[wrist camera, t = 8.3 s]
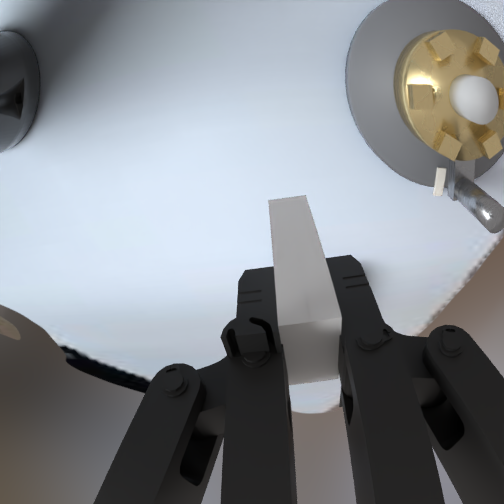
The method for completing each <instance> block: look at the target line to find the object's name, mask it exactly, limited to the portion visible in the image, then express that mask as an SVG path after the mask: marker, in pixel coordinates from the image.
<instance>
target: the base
mask: <svg viewBox="0 0 504 504" xmlns="http://www.w3.org/2000/svg"><path fill="white" fill-rule="evenodd" d="M450 29H454V30H462V31H467V32H469V33H472V34H474V35H476V36H478V37H485V38H486V39H487V40H489V41H490V42H491V43H492V44H493V45H494V46H496V47H497V48H498V49H499V50H500V51H499V54H498V56H499V58H500V59H501V61H502V63H503V65H504V43H503V42H502V40H501V38H500V37H499V35H498V34H497V32H496V31H495V30H494V28H493V27H492V26H491V25H490V24H489V23H488V22H487V21H486V20H485V18H484V17H482V16H481V15H480V14H479V13H478V12H476V11H475V10H474V9H473V8H471V7H469V6H468V5H466V4H465V3H463V2H461V1H459V0H388V1H386V2H384V3H382V4H381V5H379V6H378V7H377V8H375V9H374V10H373V11H371V12H370V13H369V15H368V16H367V17H366V18H365V19H364V20H363V21H362V23H361V24H360V26H359V27H358V29H357V31H356V32H355V35H354V37H353V39H352V41H351V44H350V48H349V51H348V55H347V62H346V69H345V83H346V92H347V98H348V102H349V106H350V110H351V113H352V116H353V118H354V121H355V124H356V126H357V128H358V129H359V131H360V133H361V135H362V137H363V138H364V140H365V141H366V143H367V144H368V146H369V147H370V148H371V149H372V150H373V152H374V153H375V154H376V155H377V156H378V157H379V158H380V159H381V160H382V161H383V162H384V163H385V164H386V165H388V166H389V167H390V168H391V169H392V170H394V171H395V172H396V173H398V174H399V175H401V176H402V177H404V178H406V179H408V180H410V181H412V182H415V183H418V184H420V185H425V186H429V187H434V191H433V195H434V196H442V193H443V188H444V187H448V179H449V158H447V157H445V156H443V155H441V154H439V153H438V152H436V151H435V150H433V149H432V148H430V147H429V146H427V145H426V144H424V143H423V142H421V141H420V140H419V139H417V138H416V137H415V136H414V135H413V134H412V133H411V132H410V130H409V129H408V128H407V126H406V125H405V123H404V122H403V120H402V118H401V116H400V114H399V111H398V109H397V105H396V102H395V97H394V88H393V79H394V71H395V66H396V63H397V60H398V58H399V56H400V54H401V52H402V50H403V49H404V48H405V46H406V45H407V44H408V43H409V42H410V41H411V40H412V39H414V38H415V37H417V36H418V35H420V34H422V33H426V32H429V31H437V30H450ZM449 99H450V103H451V106H452V108H453V109H454V111H455V112H456V113H457V114H458V115H459V116H461V117H463V118H465V119H467V120H470V121H472V122H474V123H477V124H480V125H484V124H487V123H489V122H491V121H492V120H493V119H494V117H495V116H496V114H497V111H498V106H499V100H498V95H497V92H496V89H495V87H494V86H493V84H492V83H491V82H490V81H489V80H487V79H485V78H483V77H478V76H473V75H468V74H462V75H459V76H457V77H456V78H455V79H454V80H453V81H452V83H451V86H450V90H449ZM500 142H501V145H502V148H503V149H502V150H500V151H499V152H498V153H497V154H495V155H494V156H493V157H492V158H490V159H488V158H486V157H484V156H482V157H480V158H478V159H475V173H474V179H476V178H478V177H479V176H481V175H482V174H484V173H485V172H486V171H488V170H489V169H490V168H491V167H492V166H493V165H494V164H495V163H496V162H497V160H498V159H499V158H500V157H501V155H502V154H503V152H504V136H503V138H502V139H501V141H500Z"/></svg>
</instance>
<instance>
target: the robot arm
mask: <svg viewBox="0 0 504 504" xmlns="http://www.w3.org/2000/svg"><path fill="white" fill-rule="evenodd" d="M39 91H40V76H39V68H38V63H37V59H36V56H35V53H34V51H33V49H32V47H31V46H30V44H29V43H28V41H27V40H26V39H25V38H24V37H22V36H21V35H19V34H17V33H15V32H10V31H3V32H0V153H2V152H4V151H6V150H8V149H10V148H11V147H13V146H15V145H16V144H17V143H18V142H19V141H20V140H21V139H22V138H23V137H24V136H25V134H26V133H27V131H28V129H29V128H30V126H31V124H32V121H33V119H34V116H35V113H36V109H37V105H38V100H39ZM268 203H269V214H270V226H271V238H272V250H273V263H274V266H273V267H265V268H258V269H250V270H245V271H244V273H243V275H242V276H241V278H240V279H239V281H238V298H237V304H238V305H237V315H236V318H235V319H233V320H232V321H230V322H229V323H228V324H227V325H226V327H225V328H224V329H223V332H222V335H221V340H222V342H223V345H224V347H225V350H226V353H227V356H226V357H225V358H223V359H222V360H221V361H219V362H217V363H215V364H212V365H210V366H207V367H204V368H201V369H198V370H195V369H194V368H193V367H192V366H189V365H187V364H172V365H169V366H166V367H164V368H163V369H162V370H160V371H159V372H158V373H157V374H156V375H155V377H154V378H153V379H152V381H151V383H150V385H149V387H148V389H147V391H146V393H145V395H144V397H143V400H142V402H141V404H140V406H139V408H138V410H137V412H136V414H135V416H134V418H133V420H132V422H131V424H130V426H129V428H128V431H127V433H126V435H125V437H124V439H123V441H122V443H121V445H120V447H119V449H118V452H117V454H116V456H115V458H114V460H113V462H112V464H111V467H110V469H109V471H108V473H107V475H106V477H105V480H104V482H103V484H102V486H101V489H100V491H99V493H98V495H97V497H96V499H95V502H94V504H201V502H202V499H203V496H204V493H205V491H206V488H207V484H208V482H209V479H210V476H211V473H212V470H213V467H214V464H215V461H216V458H217V455H218V452H219V450H220V446H221V444H222V440H223V437H224V446H223V465H222V486H221V504H297V491H296V490H297V489H296V472H295V457H294V441H293V427H292V413H291V401H290V395H289V385H296V384H304V383H312V382H319V381H326V380H332V379H338V377H339V375H340V380H341V394H340V405H339V407H342V406H343V412H344V418H345V424H346V430H347V437H348V443H349V450H350V457H351V464H352V471H353V479H354V486H355V495H356V503H357V504H445V502H444V497H443V493H442V488H441V483H440V478H439V474H438V470H437V466H436V461H435V457H434V453H433V449H434V451H435V452H436V454H437V456H438V458H439V460H440V462H441V463H442V465H443V467H444V469H445V471H446V472H447V474H448V476H449V478H450V480H451V482H452V484H453V485H454V487H455V489H456V491H457V493H458V495H459V496H460V499H461V500H462V503H463V504H504V378H503V376H502V375H501V374H500V373H499V371H498V370H497V369H496V367H495V366H494V365H493V364H492V363H491V361H490V360H489V358H488V357H487V356H486V355H485V354H484V352H483V351H482V350H481V349H480V348H479V346H478V345H477V344H476V342H475V341H474V340H473V339H472V338H471V336H470V335H469V334H468V333H467V332H465V331H464V330H463V329H461V328H459V327H456V326H453V325H443V326H440V327H437V328H436V329H434V330H433V331H432V332H431V333H430V335H429V337H416V336H407V335H402V334H399V333H397V332H395V331H393V329H392V328H391V327H390V326H389V325H387V324H386V323H385V322H384V320H383V318H382V316H381V313H380V311H379V308H378V305H377V303H376V300H375V298H374V295H373V293H372V290H371V288H370V285H369V283H368V280H367V278H366V276H365V273H364V270H363V268H362V266H361V263H360V262H358V261H357V260H356V259H355V258H354V257H353V256H351V255H346V256H339V257H331V258H325V255H324V252H323V249H322V246H321V242H320V239H319V236H318V232H317V229H316V226H315V223H314V220H313V217H312V213H311V210H310V207H309V204H308V201H307V198H306V195H304V196H296V197H289V198H282V199H274V200H268ZM432 447H433V449H432Z"/></svg>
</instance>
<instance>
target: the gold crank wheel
mask: <svg viewBox="0 0 504 504" xmlns="http://www.w3.org/2000/svg"><path fill="white" fill-rule="evenodd" d="M499 51H500V50H499V49H498V48H497V47H496V46H494V45H493V44H492V43H491V42H490V41H489V40H487V39H486V38H485V37H478V36H476V35H474V34H472V33H469V32H467V31H462V30H454V29H450V30H437V31H429V32H426V33H422V34H420V35H418V36H417V37H415V38H414V39H412V40H411V41H410V42H409V43H408V44H407V45H406V46H405V48H404V49H403V50H402V52H401V54H400V56H399V58H398V60H397V63H396V66H395V71H394V79H393V88H394V97H395V102H396V105H397V109H398V111H399V114H400V116H401V118H402V120H403V122H404V123H405V125H406V126H407V128H408V129H409V130H410V132H411V133H412V134H413V135H414V136H415V137H416V138H417V139H419V140H420V141H421V142H423V143H424V144H426V145H427V146H429V147H430V148H432V149H433V150H435V151H436V152H438V153H439V154H441V155H443V156H445V157H447V158H449V179H448V196H449V197H450V198H451V199H452V200H453V201H455V200H458V201H459V202H460V203H461V204H462V205H463V206H464V207H465V208H466V209H467V210H468V211H469V212H470V213H471V214H472V215H474V216H475V217H476V218H477V219H478V220H479V221H480V222H481V223H482V224H483V225H484V227H485V228H486V229H487V230H488V231H489V232H491V233H497V232H499V231H501V230H502V229H503V228H504V207H503V206H501V205H500V204H499V203H498V202H497V201H496V200H494V199H493V198H492V197H491V196H490V195H488V194H487V193H486V192H485V191H483V190H482V189H481V188H480V187H478V186H477V185H476V184H475V183H474V173H475V159H478V158H480V157H482V156H484V157H486V158H488V159H490V158H492V157H493V156H494V155H495V154H497V153H498V152H499V151H500V150H502V149H503V148H502V145H501V142H500V141H501V139H502V138H503V136H504V65H503V63H502V61H501V59H500V58H499V56H498V54H499ZM462 74H468V75H473V76H478V77H483V78H485V79H487V80H489V81H490V82H491V83H492V84H493V86H494V87H495V89H496V92H497V95H498V100H499V106H498V111H497V114H496V116H495V117H494V119H493V120H492V121H491V122H489V123H487V124H484V125H480V124H477V123H474V122H472V121H470V120H467V119H465V118H463V117H461V116H459V115H458V114H457V113H456V112H455V111H454V109H453V108H452V106H451V103H450V99H449V90H450V86H451V83H452V81H453V80H454V79H455V78H456V77H457V76H459V75H462Z"/></svg>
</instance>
